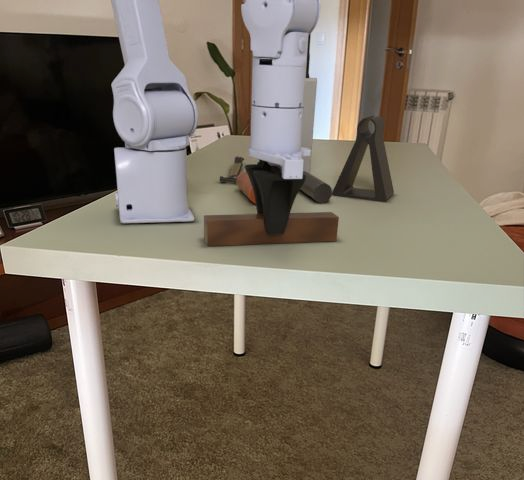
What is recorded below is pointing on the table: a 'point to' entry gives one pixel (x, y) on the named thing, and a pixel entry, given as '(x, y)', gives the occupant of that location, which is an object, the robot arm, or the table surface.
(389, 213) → the table surface
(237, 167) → the tomahawk
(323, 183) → the rods
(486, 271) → the table surface
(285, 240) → the bar
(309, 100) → the vintage mobile phone
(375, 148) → the dark grey triangle stand
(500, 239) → the table surface
